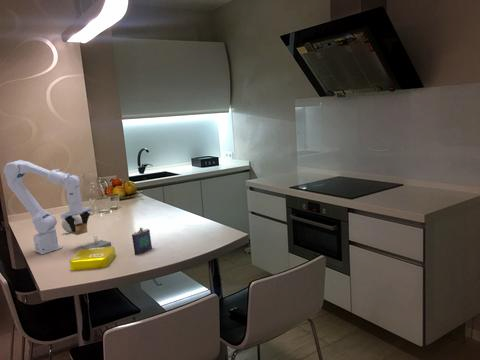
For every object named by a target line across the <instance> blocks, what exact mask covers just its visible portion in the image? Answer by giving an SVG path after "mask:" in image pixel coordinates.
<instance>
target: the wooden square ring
mask: <svg viewBox="0 0 480 360" xmlns="http://www.w3.org/2000/svg"><path fill="white" fill-rule="evenodd" d="M86 233H88V224H87V225H86V224H85V223H77V224H75V232H71V234H72V235H76V236H79V235H82V234H86Z"/></svg>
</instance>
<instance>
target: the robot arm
mask: <svg viewBox="0 0 480 360" xmlns="http://www.w3.org/2000/svg"><path fill="white" fill-rule="evenodd" d="M60 170H61V169H58V168H56V169H52V170H48V169H47V168H44V167H41V166H39V165H36V164H34V163H32V162H30V161H25V160H24V159H18V160H15V161H11V162H7V163H6V164H4V168H3V171H2V172H3V174H4V175H5V178H6V179H5V180H6V184H7V186H8V187H9V189H10V190H11V191H12V193H13V194H14V195H15V196H16V198H17V199H18V200H19V201H20V202H21V204H22V205H23V206H24V208H25V209H26V210H27V212H28V213H29V215H31V217H32V218H31V219H32V224H33V225H34V229H35V230H36V232H37V233H36V234H34V235H33V242H34V249H35V250H34V252H36V253H38V254H41V255H44V254H48V253H51V252H53V251H58V250H60V249H63V246H60V245H59V242H58V235H57V230H56V225H57V222H58V221H57V218H56V217H55V216H54V215H52V214H51V213H50V212H49V211H47V210H45V209H43V207H42V206H41V205H40V203H39V202H38V201H37V200H36V198H35V197H34V196H33V194H32V193H31V192H30V191H29V190H28V188H27V187H26V186H25V184H24V183H23V180H24V176H25V175H26V174H28V173H31V174H33V175H37V176H40V177H43V178H47V180H48V181H49V183H50V182H51V183H53V184H56V185H60V186H62V187H63V188H64V189H65V190H66V196H67V204H68V209H69V211H67V212H64V213H61V214H60V215H59V216H60V219H61V220H63V219H65V220H66V221H67V223H68V224H69V226H70V228H71V230H72V232H75V218H73V217H72V216H75V215H78V216H79V217H80V218H81V221H82V223H85V224H86V225H87V226H88V221H89V217H90V212H93V207H91V206H89V207H88V206H87V207H83V201H82V195H81V188H80V185H81V179H80V177H79V176H78V175H76V174H70V173H69V172H67V173H66V172H63V171H60ZM72 232H71V233H72Z"/></svg>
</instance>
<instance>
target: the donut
mask: <svg viewBox="0 0 480 360" xmlns="http://www.w3.org/2000/svg"><path fill="white" fill-rule="evenodd" d="M72 217H73V218H75V224H77V223H82V220H81V216H80V215H75V216H72ZM61 228H62V229H63V230H64V231H65V232H67V233H71V234H72V230H71V228H70V226H69V224H68V223H67V221H66V220H65V219H61Z"/></svg>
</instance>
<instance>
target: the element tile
mask: <svg viewBox="0 0 480 360" xmlns="http://www.w3.org/2000/svg"><path fill="white" fill-rule="evenodd" d="M116 253H117V252H116V248H115V246H112V245H111V246H108V247H101V248H89V249H82V248H81V249H80V250H79V251H78V252H77V253H76V254H75V255H74V256H73V257H72V258H71V259H70V260H69V264H70V271H72V272H74V271H75V272H76V271H88V270H99V269H105V268H107V267H109V266H110V264H111V263H112V262H113V260H114V259H115V258H116V256H117V254H116Z"/></svg>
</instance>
